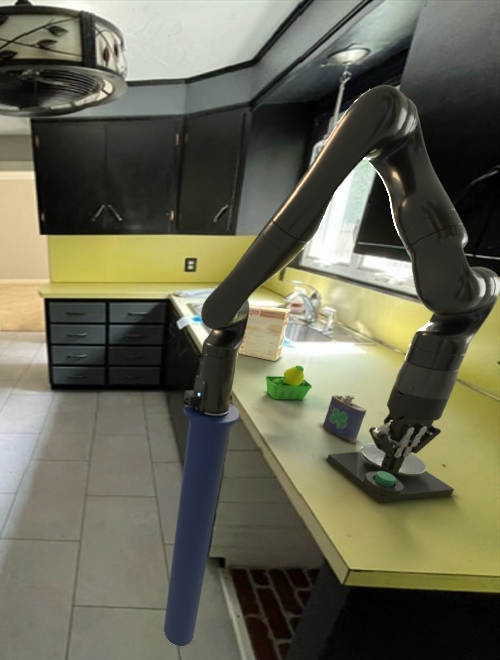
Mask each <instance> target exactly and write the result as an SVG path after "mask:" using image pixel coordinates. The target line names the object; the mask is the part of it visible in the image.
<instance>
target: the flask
mask: <svg viewBox="0 0 500 660" xmlns="http://www.w3.org/2000/svg"><path fill="white" fill-rule="evenodd" d="M353 400H355V397H354V395H351V396H350V395H347V394H346V395H337V394H334V395H332V396H331V399H330V402H329V405H328V409H327V412H326V415H325V418H324V421H323V424H322V427H323V428H324V429H325V430H326V431H327V432H329V433H330V434H332V435H334V436H336V437H338V438H339V439H341V440H342V441H344V442H347V443H349V444H355V443H356V442H357V439H358V436H359V433H360V430H361V427H362V424H363V422H364V418H365V416H366V414H367V409H366V408H364V407H362V406H359V405H358V404H355V403H353Z"/></svg>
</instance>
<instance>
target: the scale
mask: <svg viewBox="0 0 500 660" xmlns="http://www.w3.org/2000/svg"><path fill="white" fill-rule="evenodd" d="M326 461H327V462H329V464H331V465H332V466H333V467H334V468H336V469H337V470H338V471H339V472H340V473H342V474H343V475H344V476H346V477H347V478H348V479H349V480H350V481H352V482H353V483H354V484H355V485H357V487H358V488H360V489H362V490H363V491H364V493H366V494H367V495H369V496H370V497H371V498H372V499H373V500H374V501H376V503H378V504H381V503H392V502H400V501H401V502H402V501H411V500H421V499H431V498H432V499H433V498H440V497H441V498H442V497H450V496H451V497H452V495H453V493H454V491H455V488H454V487H452V486H450V485H448V484H447V483H445V482H444V481H442V480H441V479H440V478H437V477H436V476H435V475H433V474H431V473H430V472H429V471H427V470H425V472H424V473H423V474H422V475H419V476H404V475H399V474H395V473H390V474H392V475H393V476H394V477H395V478H396V480H395V483H394V485H393V487H387V486H383V485H381V484H379V483H377V482H376V481H375V480H374V479H375V476H376V474H377V472H378V471H384V472H387V471H385V470H383V469H380V468H378V467H376V466H374V465H373V464H371V463H370V462H368V461H367V460H366V459H365V458H364V457H363V456H362V455H361V451H352V452H351V451H350V452H339V453H338V452H337V453H328V455H327V458H326ZM387 473H388V472H387Z"/></svg>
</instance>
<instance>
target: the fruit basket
mask: <svg viewBox="0 0 500 660" xmlns="http://www.w3.org/2000/svg"><path fill="white" fill-rule="evenodd" d="M304 371H305V370H304V367H303V366H301V365H294V366H292V367H290V368H288V369H286V370H285V371H284V373H283V376H278V375H277V376H276V375H275V376H274V375H273V376H272V375H266V376H265V381H266V382H265V383H266V392H267V393H268V394H269V396H271V398H272V399H273V400H298V401H302V400H304V398H305V397H306V395H308V392H309V391H310V390H311V388H312V387H313V385H312V384H310V382H308V381H307V380H306V379H305V373H304Z"/></svg>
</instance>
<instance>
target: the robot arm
mask: <svg viewBox="0 0 500 660" xmlns="http://www.w3.org/2000/svg"><path fill="white" fill-rule="evenodd" d="M420 121H421V120H420V116H419V112H418V109H417V106H416V104H415V103H414V102H413V100H412V99H410V98H409V97H408V96H406V95H405V94H404V93H403V92H402V91H401V90H400V89H398V88H397V87H395V86H393V85H389V84H382V85H377V86H374V87H372V88H371V89H369V90H367V91H365V92H364V93H363V94H361V95H360V96H359V97H358V98H357V99H356V100H355V101H354V102H353V103H352V104H351V105H350V106H349V108H348V109H347V110H346V111H345V112H344V114H343V115H342V116H341V118H340V119H339V121H338V122H337V124H336V126H335V127H334V129H333V130H332V131H331V133H330V135H329V136H328V138H327V139H326V141H325V142H324V144H323V145H322V148H321V149H320V151H319V152H318V154H317V155H316V156H315V158H314V160H313V161H312V162H311V164H310V165H309V167H308V169H307V170H306V171H305V173H304V174H303V176H301V178H300V179H299V181H297V183H296V185H295V186H294V187H293V188H292V190H291V191H290V193H289V194H288V195H287V197H286V198H285V199H284V201H283V202H282V203H281V204H280V206H279V207H278V209H277V210H275V212H274V213H273V214H272V216H271V217H270V219H269V220H268V221H267V222H266V224H265V225H264V227H263V228H262V229H261V230H260V232H259V233H258V235H257V236H256V237H255V239H254V240H253V242H252V243H251V245H250V246H249V247H248V248H247V250H246V251H245V252H244V254H243V255H242V256H241V258H240V259H239V260H238V262H236V264H235V266H234V267H233V268H232V269H231V271H230V273H228V275H227V276H226V277H225V278H224V279H223V280H222V282H220V283H219V284H218V286H217V287H216V288H214V290H212V292H211V293H210V294H209V295H208V296H207V297H206V298H205V300H204V302H203V304H202V306H201V311H200V317H201V321H202V323H203V325H204V326H205V327H206V328H208V329H210V330H211V331H210V332H209V334H208V336H206V337H205V339H204V340H203V342H202V347H201V356H200V363H199V370H198V375H196V376H195V379H194V386H193V387H194V388H193V389H192V390H184V398H183V400H182V403H183V405H187V406H193V407H194V408H195V410H196V411H197V412H198V413H199V415H205V416H210V417H223V416H226V415H227V414H228V413H229V406H230V404H231V401H232V400H233V395H232V393H233V387H234V381H235V377H236V376H235V375H236V369H237V364H238V359H239V358H238V357H239V354H238V352H239V348H240V346H241V345H242V343H243V340H244V336H245V332H246V327H247V322H248V317H249V306H250V302H249V298H251V296H252V295H253V294H254V293H255V292H256V291H257V290H258V289H260V288H261V287H262V286H263V285H264V284H265V283H266V282H268V281H269V280H271V279H272V278H273V277H275V276H276V275H277V274H279V273H280V272H281V271H283V269H284V268H285V267H287V266H288V265H289V264H290V263H291V262H292V261H293V260H294V259H295V258H296V257H297V256H298V255H299V254H300V253H301V252H302V250H304V248H305V247H306V246H307V245H308V244H309V243H310V241H311V240H312V239H313V238H314V236H315V235H316V234H317V232H318V230H319V229H320V228H321V225H322V224H323V221H324V219H325V217H326V215H327V212H328V210H329V207H330V204H331V202H332V200H333V198H334V196H335V195H336V193H337V191H338V190H339V189H340V187H341V185H342V184H343V183H344V182H345V180H346V179H347V178H348V177H349V176H350V174H351V173H352V172H353V171H354V170H355V169H356V168H357V167H358V165H359V164H360V163H361V162H362V161H363V160H366V161H367V162H368V163H369V164H370V166H371V167H373V169H374V170H375V171H376V172H377V174H378V175H379V177H380V178H381V180H382V181H383V184H384V186H385V188H386V191H387V193H388V196H389V202H390V209H391V215H392V219H393V223H394V226H395V229H396V231H397V234H398V236H399V239H400V240H401V242H402V244H403V246H404V248H405V250H406V253H407V255H408V256H409V258H410V262H411V272H412V277H413V278H412V279H413V284H414V289H415V293H416V296H417V298H418V300H419V302H420V304H421V305H422V306H423V307H424V308H425V309H427V311H428V312H429V313H432V315H431V316H430V318H429V320H428V322H427V323H426V324H425V325H424V326H422V327H420V328H419V329H417V330H416V331H415V332H414V335H413V336H412V338H411V341H410V343H409V346H408V349H407V351H406V355H405V357H404V359H403V362H402V364H401V365H400V367H399V370H398V372H397V374H396V377H395V380H394V382H393V386H392V388H391V390H390V394H389V396H388V399H387V402H386V406H387V408H388V414H387V416H386V417H385V418H384V420H383V424H382V425H380V426H379V427H375V426H372V427H370V428H369V430H368V432H369V434H370V437H371V438H372V440H373V443H375V444H376V446H377V448H378V449H379V450H381V451H383V452H385V456H384V459H383V462H382V468H383V469H384V470H386V471H387V472H388V473H398V472H399V469H400V468H401V466H402V464H403V461H404V459H405V457H407V456H409V454H410V453H411V454H418V453H419V452H420V451H421V450H423V449H424V448H425V447H426V446H427V445H429V443H431V441H433V440H435V438H436V437H437V436H438V435H439V434H441V433H442V431H441V430H442V429H440V428H438V427H437V426H434V424H433V423H434V422H435V421H438V420H440V419H441V418H442V415H443V413H444V411H445V409H446V406H447V404H448V402H449V400H450V398H451V397H450V396H452V395H451V394H452V392H453V390H454V388H455V385H456V382H457V379H458V376H459V375H458V374H459V371H460V368H461V365H462V363H463V361H464V359H465V357H466V354H467V353H468V349H469V346H470V343H471V341H473V338H474V337H475V336H476V335H477V333H478V332H479V330H480V329H481V328H482V326H483V325H484V323H485V322H486V321H487V319H488V318H489V316H490V314H491V313H492V311H493V309H494V308H495V306H496V305H497V302H498V299H499V297H500V277H499V275H498V274H497V273H496V272H495V271H493V270H492V269H489V268H487V267H483V266H470V264H469V263H468V260H467V256H466V254H465V251H464V248H465V247H466V245H467V244H468V243H469V235H468V232H467V230H466V227H465V226H464V223H463V221H462V219H461V218H460V215H459V214H458V212H457V210H456V208H455V206H454V204H453V203H452V201H451V199H450V197H449V195H448V193H447V192H446V190H445V188H444V186H443V184H442V182H441V180H440V179H439V178H438V175H437V173H436V171H435V169H434V167H433V165H432V162H431V160H430V156H429V154H428V151H427V148H426V144H425V139H424V136H423V130H422V126H421V122H420Z"/></svg>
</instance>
